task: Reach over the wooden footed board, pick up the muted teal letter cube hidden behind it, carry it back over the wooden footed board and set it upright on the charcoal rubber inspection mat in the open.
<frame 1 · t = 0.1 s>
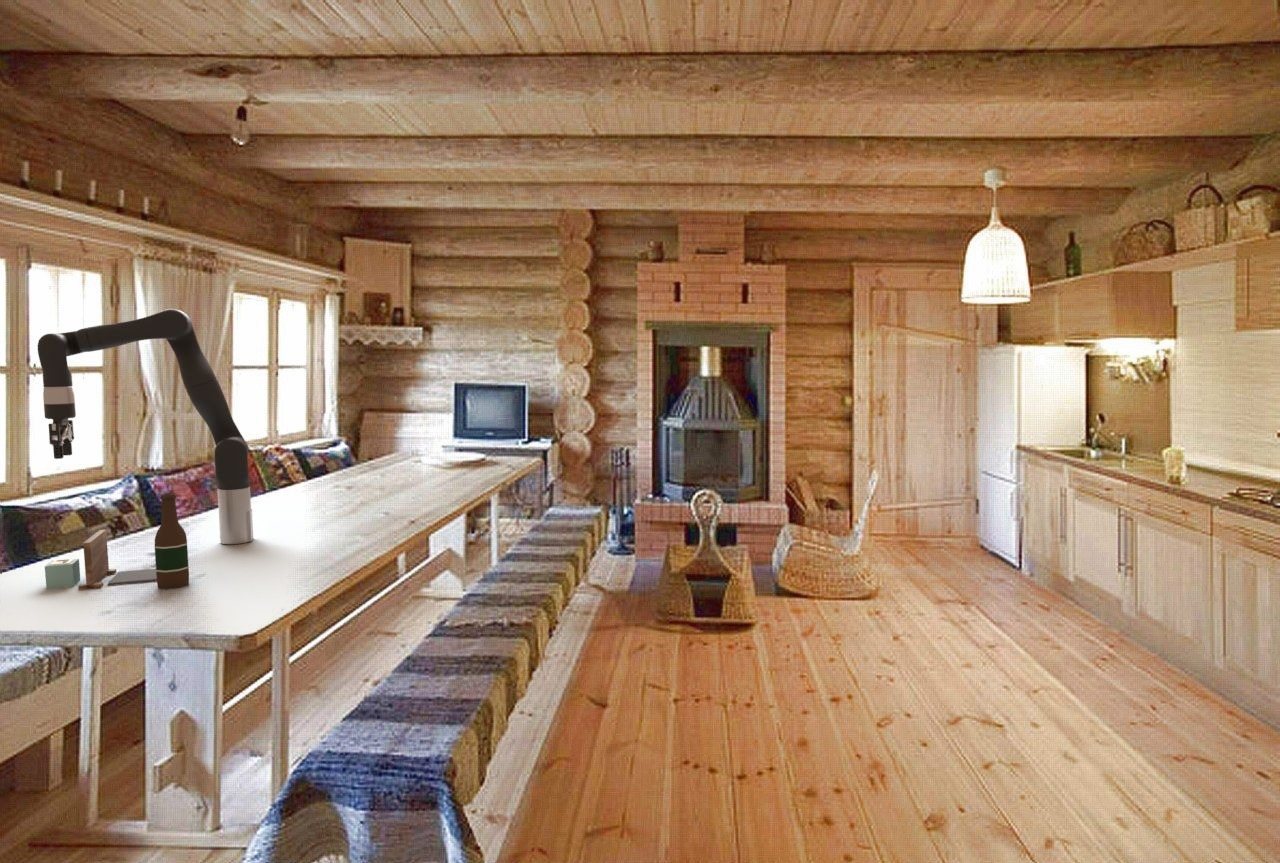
hand: (63, 456, 247), 29 cm above the table, fingers open, 8 cm apart
letter cube: (63, 585, 217), on the table
wooden footed board: (98, 580, 221), on the table
beer bottle: (173, 586, 216), on the table
inspection mat: (139, 577, 224), on the table
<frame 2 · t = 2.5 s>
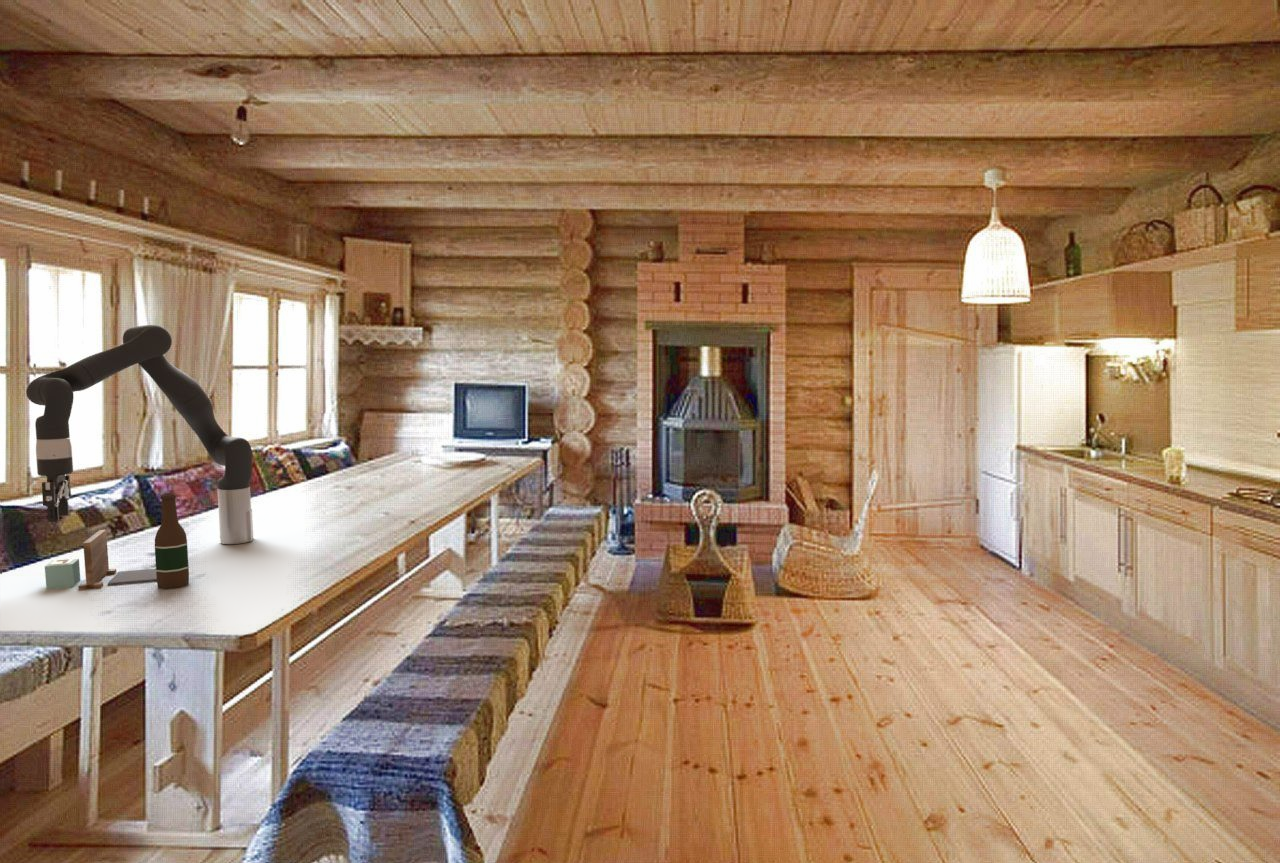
hand: (58, 518, 215), 17 cm above the table, fingers open, 8 cm apart
nothing on the table moved.
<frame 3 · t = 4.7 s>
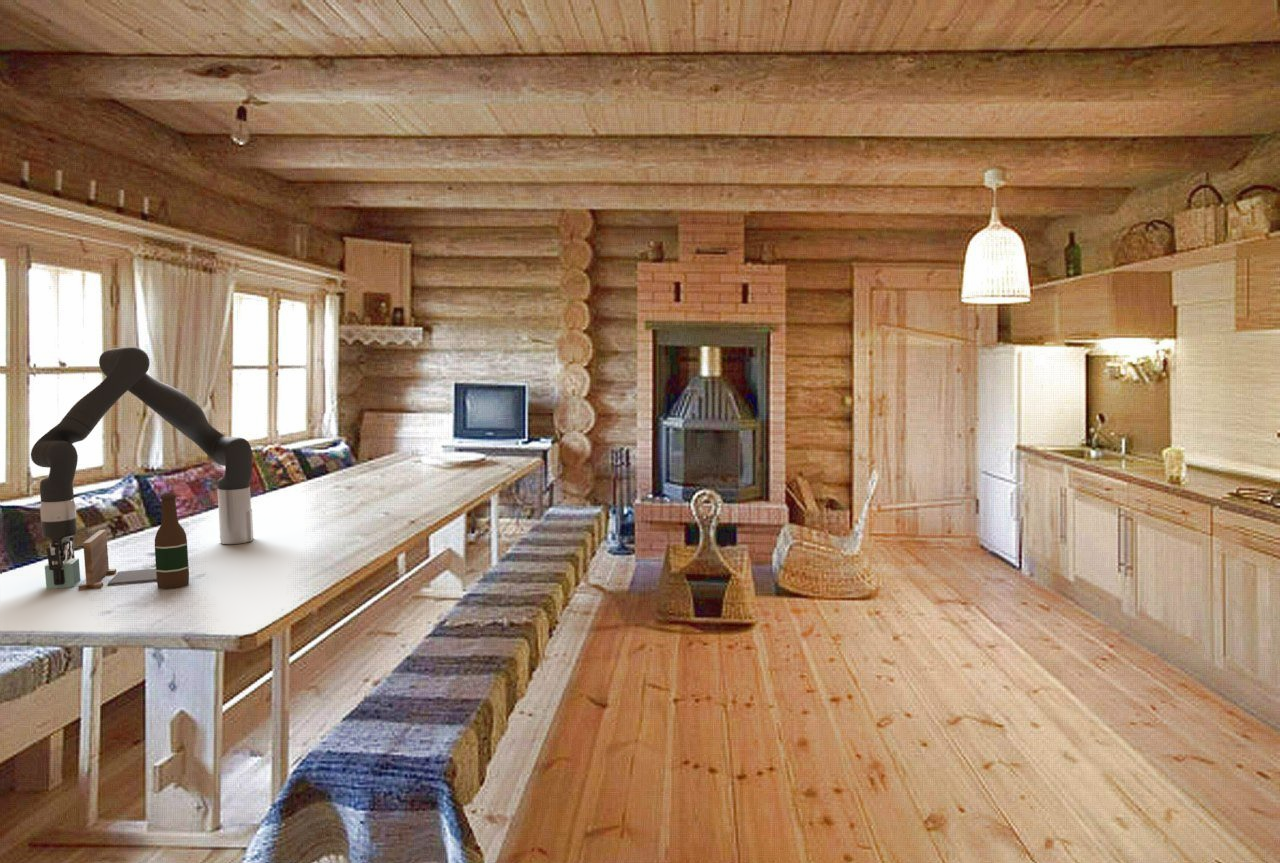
hand: (63, 580, 217), 1 cm above the table, fingers closed on letter cube, 6 cm apart
letter cube: (63, 584, 217), on the table, touching gripper
everything else where it was.
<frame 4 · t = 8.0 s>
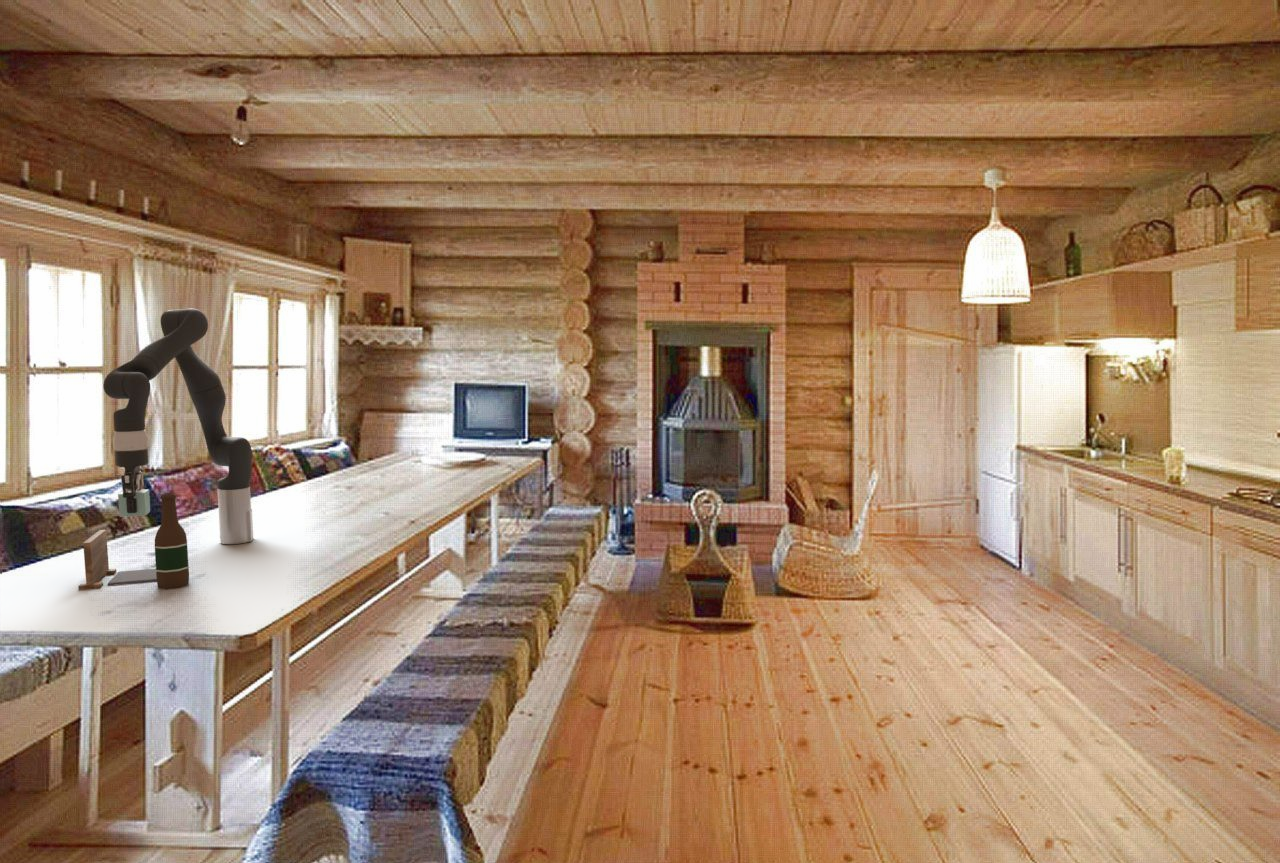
hand: (135, 510, 222), 18 cm above the table, fingers closed on letter cube, 6 cm apart
letter cube: (135, 514, 222), point 17 cm above the table, touching gripper
everything else where it was.
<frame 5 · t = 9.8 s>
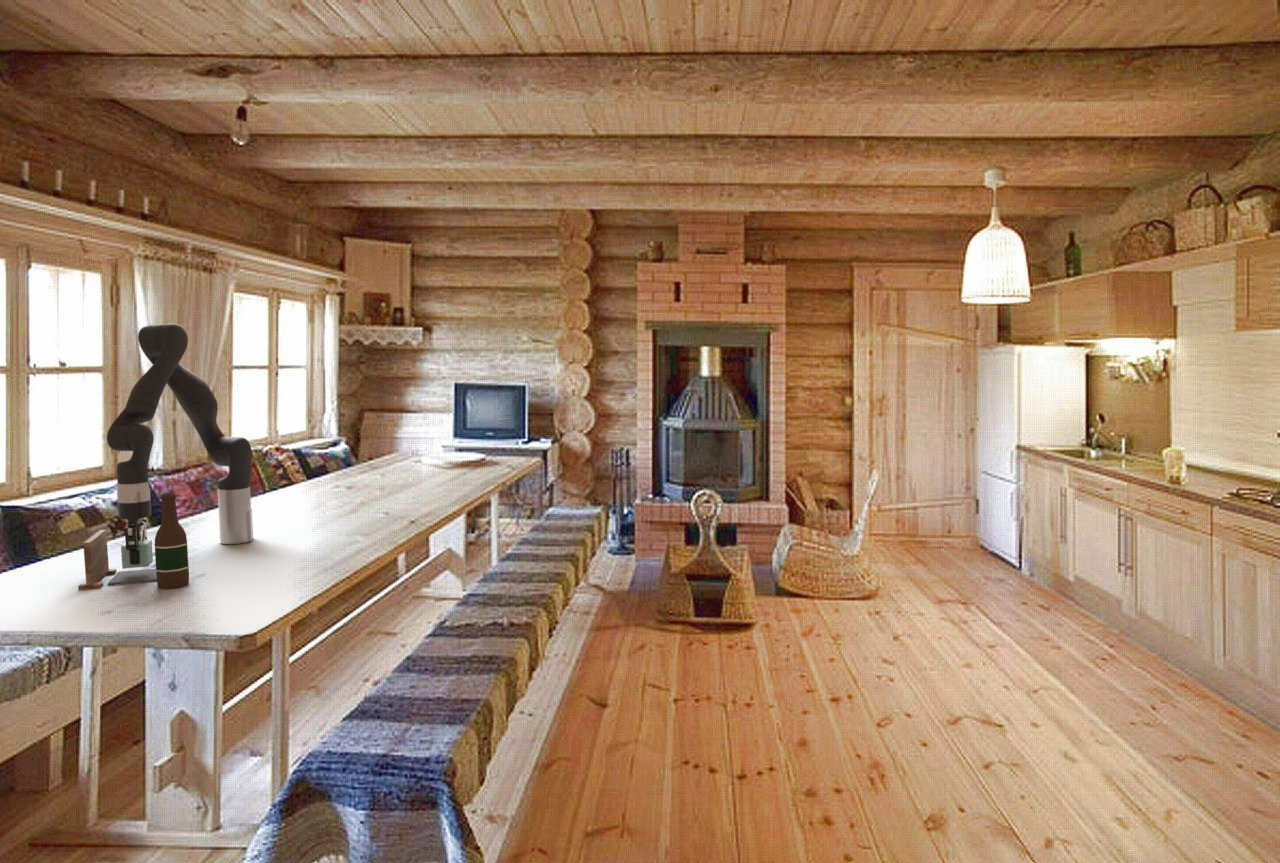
hand: (137, 561, 223), 4 cm above the table, fingers closed on letter cube, 6 cm apart
letter cube: (137, 564, 224), point 3 cm above the table, touching gripper
everything else where it was.
when the fingers open (3 cm above the table, at t = 11.1 s): letter cube drops 1 cm, resting on inspection mat.
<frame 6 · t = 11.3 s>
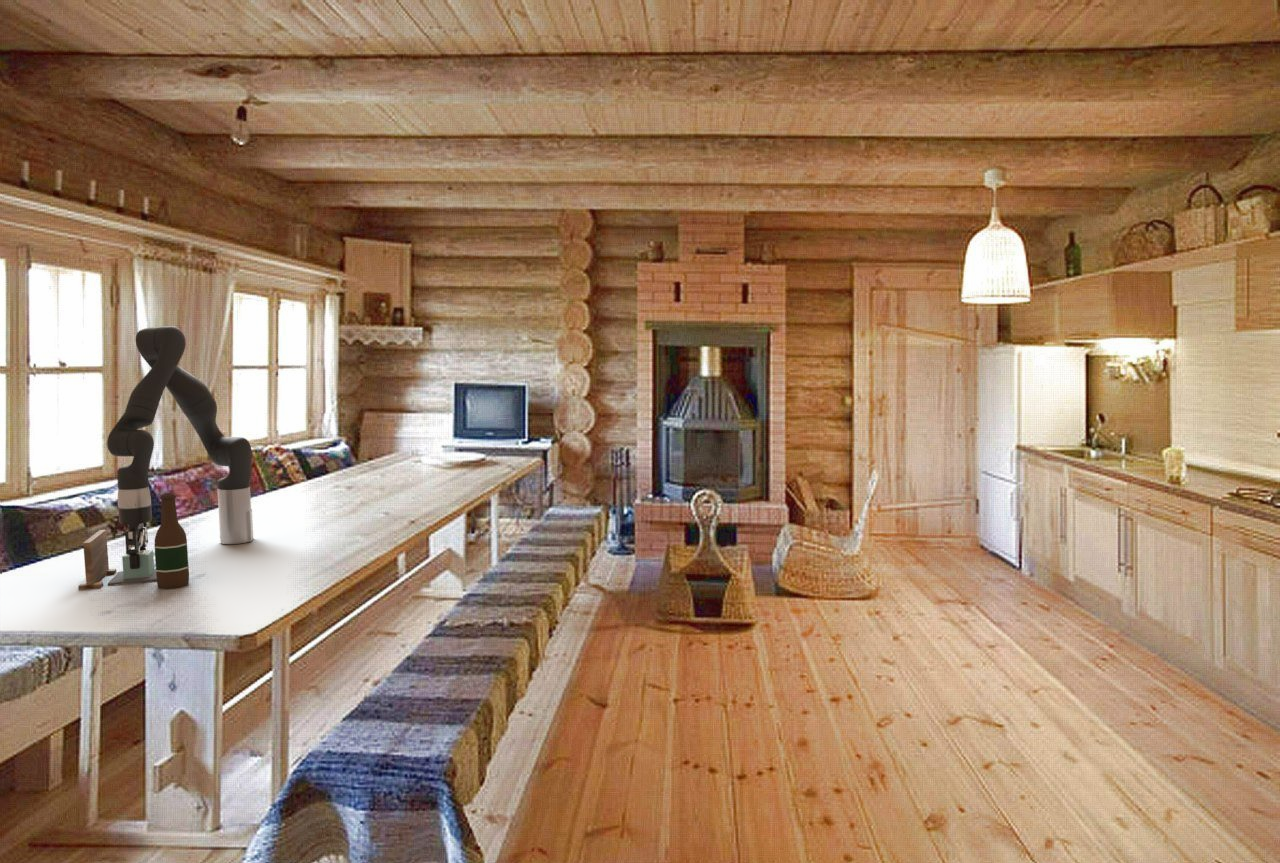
hand: (138, 564, 224), 3 cm above the table, fingers open, 7 cm apart
letter cube: (139, 574, 224), point 1 cm above the table, touching inspection mat
everything else where it was.
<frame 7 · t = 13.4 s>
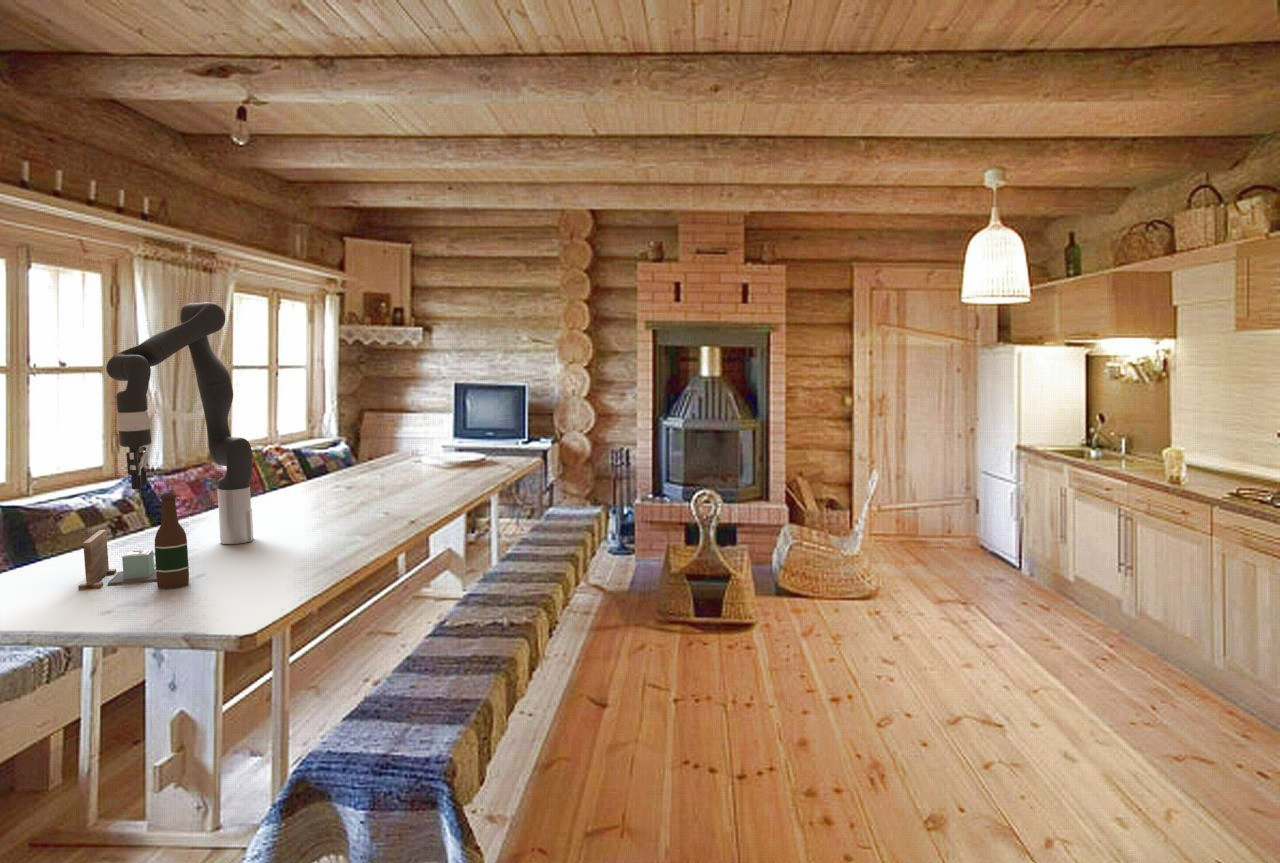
hand: (139, 486, 230), 23 cm above the table, fingers open, 8 cm apart
nothing on the table moved.
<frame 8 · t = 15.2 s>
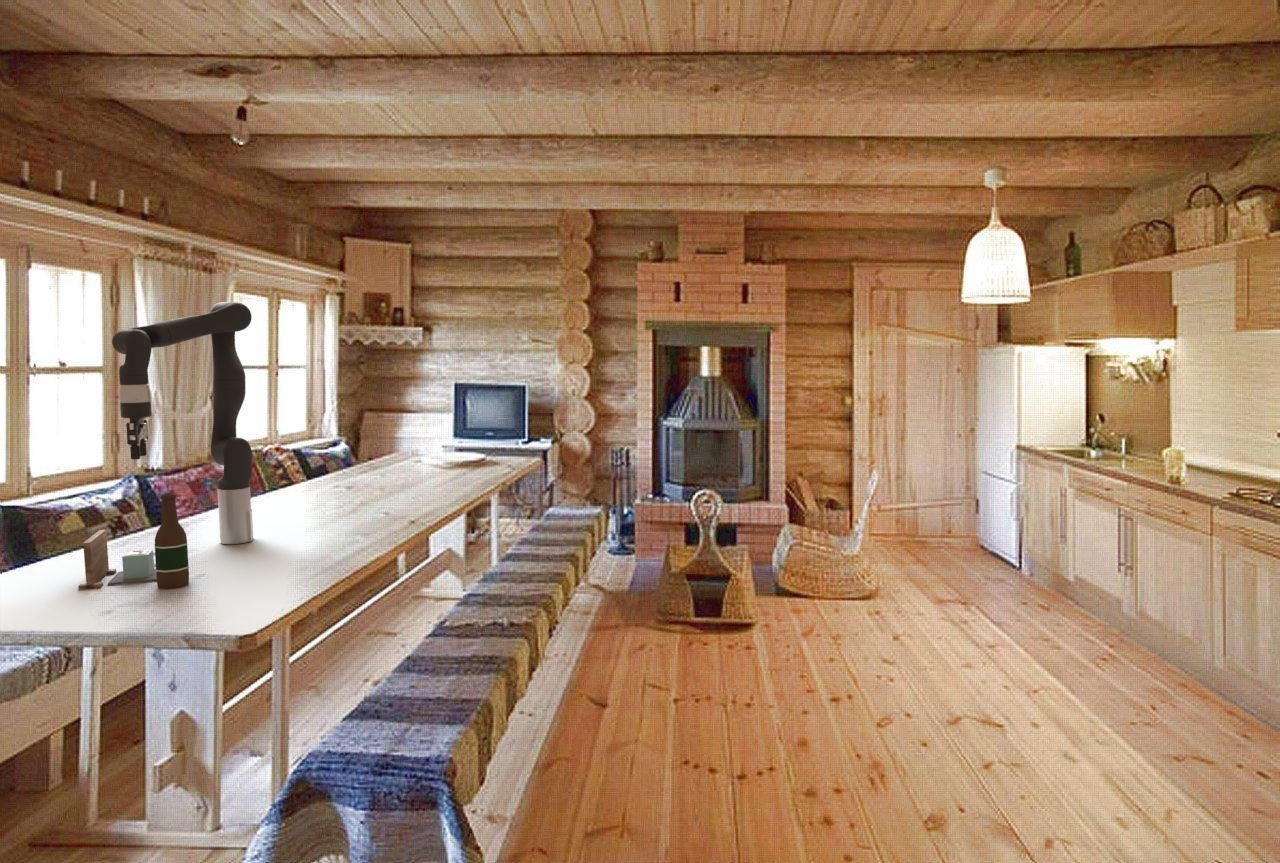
hand: (139, 457, 238), 30 cm above the table, fingers open, 8 cm apart
nothing on the table moved.
at the end: letter cube inside the target area on the inspection mat (0.1 cm from its centre), point 0.6 cm above the inspection mat's base; letter cube tilted 0°; the gripper is holding nothing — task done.
